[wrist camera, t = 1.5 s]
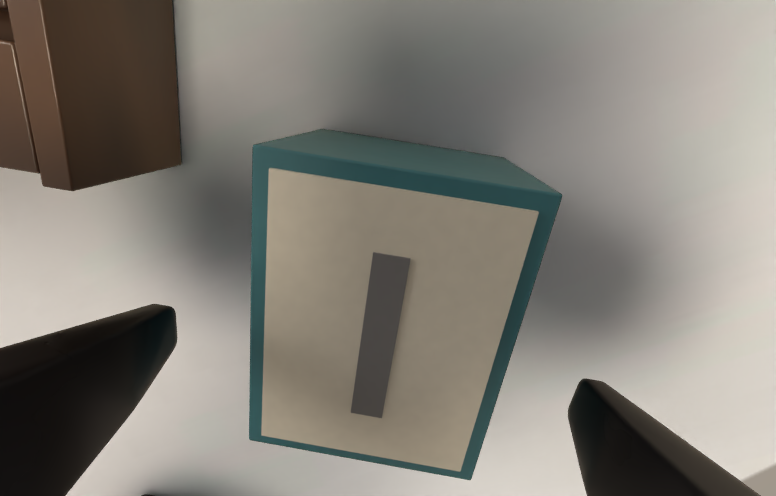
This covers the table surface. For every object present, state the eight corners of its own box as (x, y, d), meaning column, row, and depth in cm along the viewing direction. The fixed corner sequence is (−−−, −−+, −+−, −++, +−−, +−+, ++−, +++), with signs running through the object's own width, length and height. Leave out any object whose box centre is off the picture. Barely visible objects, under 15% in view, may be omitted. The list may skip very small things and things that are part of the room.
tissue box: (454, 355, 15) (471, 487, 10) (306, 329, 15) (245, 445, 10) (505, 157, 12) (567, 196, 7) (321, 128, 13) (247, 144, 7)
